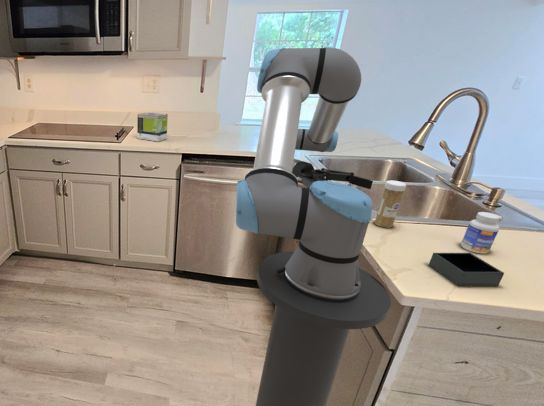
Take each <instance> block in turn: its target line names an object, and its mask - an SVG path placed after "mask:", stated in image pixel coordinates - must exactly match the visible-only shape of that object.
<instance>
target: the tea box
mask: <svg viewBox="0 0 544 406" xmlns="http://www.w3.org/2000/svg"><path fill="white" fill-rule="evenodd" d="M168 118H169V117H168V113H161V112H151V111H145V112H140V113H137V118H136V119H137V122H136V123H137V124H136V125H137V126H136V127H137V129H136V130H137V131H136V132H137V135H136V136H137V138H136V139H140V140H146V141H152V142H161V141H164V140H166V139H168Z"/></svg>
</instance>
